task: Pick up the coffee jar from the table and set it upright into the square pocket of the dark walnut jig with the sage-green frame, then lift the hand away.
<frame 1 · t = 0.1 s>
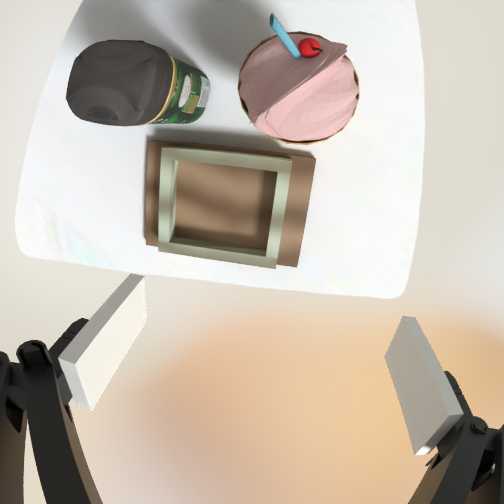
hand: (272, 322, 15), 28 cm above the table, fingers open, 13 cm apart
jig: (224, 202, 42), on the table
ice cream cone: (294, 98, 36), on the table
coffee jar: (176, 95, 37), on the table
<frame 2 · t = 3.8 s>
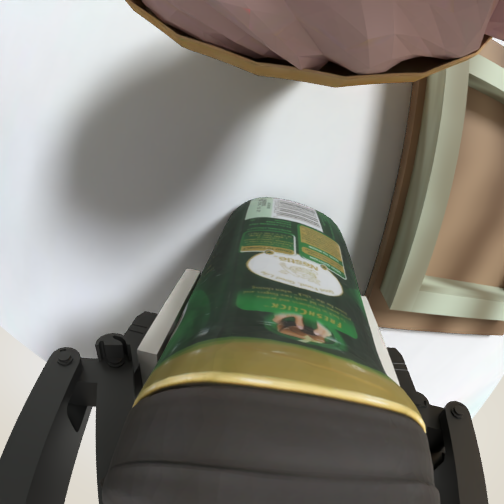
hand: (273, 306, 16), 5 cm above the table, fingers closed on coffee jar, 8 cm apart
jig: (486, 193, 17), on the table
ice cream cone: (298, 27, 15), on the table
coffee jar: (276, 265, 21), on the table, touching gripper
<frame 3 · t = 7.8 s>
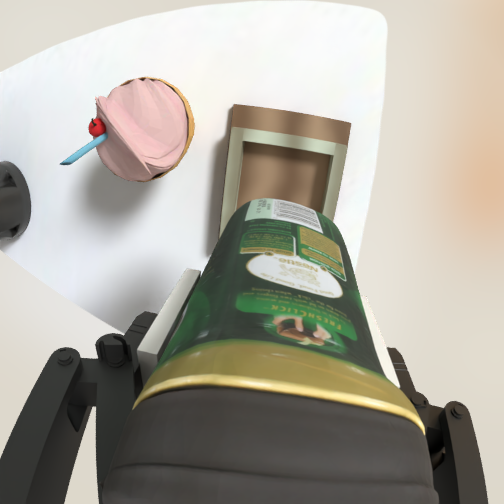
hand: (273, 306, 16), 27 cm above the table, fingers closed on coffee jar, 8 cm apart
jig: (280, 193, 41), on the table
ice cream cone: (178, 126, 39), on the table
coffee jar: (276, 266, 21), point 22 cm above the table, touching gripper
when the fingers open (7 cm above the table, at t = 12.0 s): coffee jar drops 1 cm, resting on jig.
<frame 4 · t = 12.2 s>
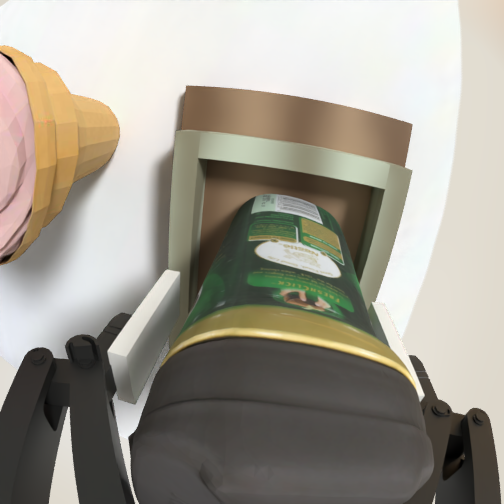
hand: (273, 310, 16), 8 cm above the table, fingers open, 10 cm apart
jig: (277, 252, 23), on the table
ice cream cone: (97, 133, 21), on the table
coffee jar: (280, 258, 22), point 1 cm above the table, touching jig
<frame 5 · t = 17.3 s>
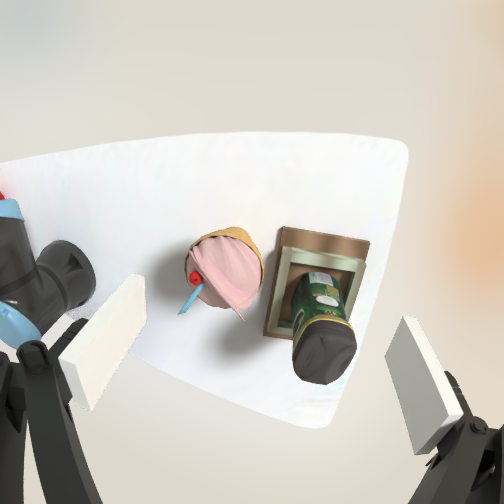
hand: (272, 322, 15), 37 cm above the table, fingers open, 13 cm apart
jig: (313, 290, 55), on the table
apple: (1, 202, 55), on the table
ice cream cone: (236, 239, 53), on the table
coffee jar: (315, 293, 55), point 1 cm above the table, touching jig
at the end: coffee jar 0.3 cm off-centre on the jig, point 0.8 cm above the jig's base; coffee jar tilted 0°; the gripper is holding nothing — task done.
